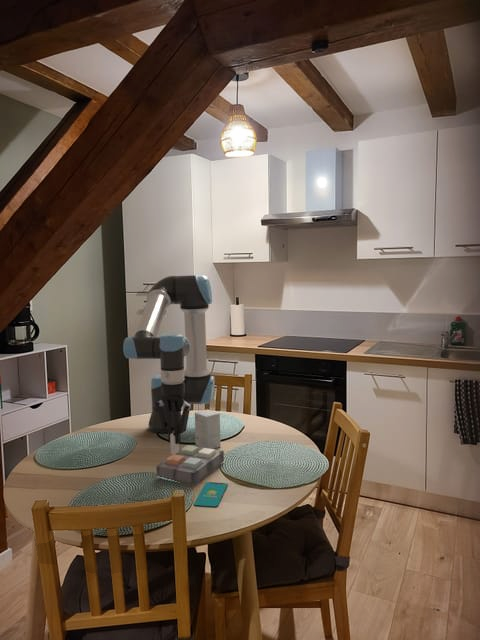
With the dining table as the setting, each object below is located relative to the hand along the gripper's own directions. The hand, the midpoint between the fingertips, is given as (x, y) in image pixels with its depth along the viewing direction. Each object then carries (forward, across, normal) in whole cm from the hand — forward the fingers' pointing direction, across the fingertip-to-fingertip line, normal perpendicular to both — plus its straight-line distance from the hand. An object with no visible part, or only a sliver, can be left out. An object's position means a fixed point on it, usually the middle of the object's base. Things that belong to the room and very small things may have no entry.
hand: (175, 452), depth 158 cm
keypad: (+7, +3, +5) cm, 9 cm away
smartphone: (+8, +18, -8) cm, 21 cm away
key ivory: (+5, +7, +9) cm, 12 cm away
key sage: (+5, 0, +9) cm, 11 cm away
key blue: (+5, +7, 0) cm, 8 cm away
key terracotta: (+5, 0, 0) cm, 5 cm away
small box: (+7, -3, +27) cm, 28 cm away
